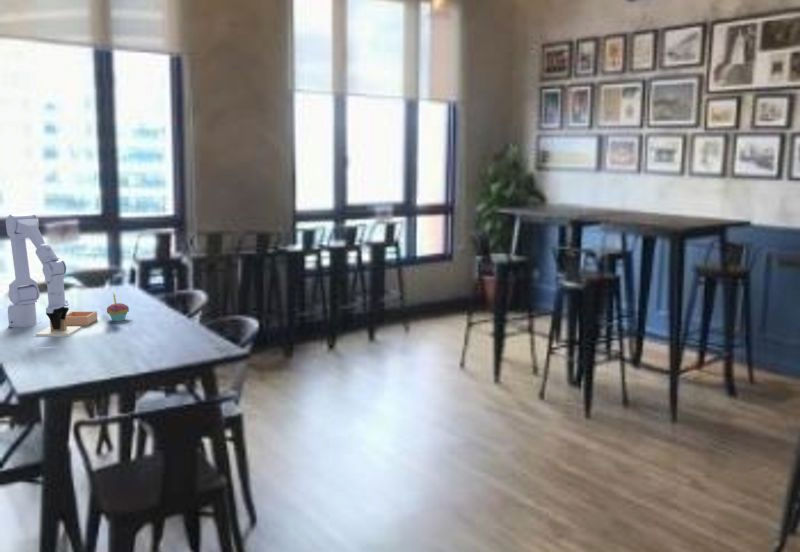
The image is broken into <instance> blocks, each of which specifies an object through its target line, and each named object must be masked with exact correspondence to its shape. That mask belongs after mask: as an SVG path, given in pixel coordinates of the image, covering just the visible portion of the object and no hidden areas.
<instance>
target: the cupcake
mask: <svg viewBox="0 0 800 552" xmlns="http://www.w3.org/2000/svg"><path fill="white" fill-rule="evenodd" d="M112 293H113V294H112V295H113V296H112V297H113V302H114V303H112V304H110V305H108V306H107V308H106V313H107V314H108V315H109V316H110V319H111V321H112V322H123V321H125V320H126V316H127V314H128V312H130V308H129V305H126V304H125V303H121V302H117V299H116V294H115V293H114V292H112Z"/></svg>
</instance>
